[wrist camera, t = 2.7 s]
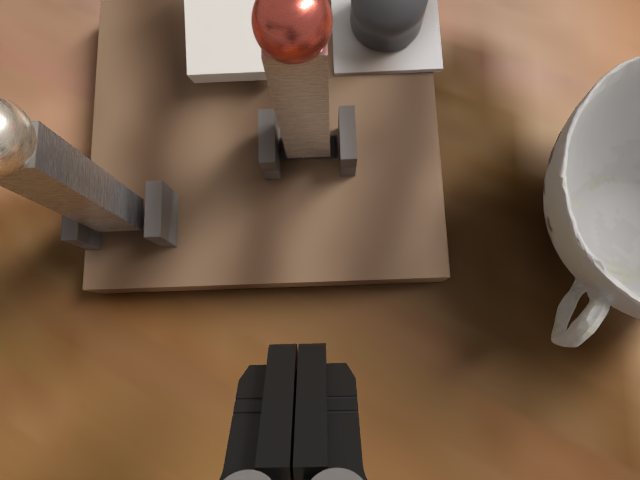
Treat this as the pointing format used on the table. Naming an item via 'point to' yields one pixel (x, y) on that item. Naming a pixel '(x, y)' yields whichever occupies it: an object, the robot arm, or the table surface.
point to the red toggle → (297, 73)
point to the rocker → (221, 41)
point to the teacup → (597, 203)
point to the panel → (263, 166)
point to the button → (387, 22)
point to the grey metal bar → (62, 176)
